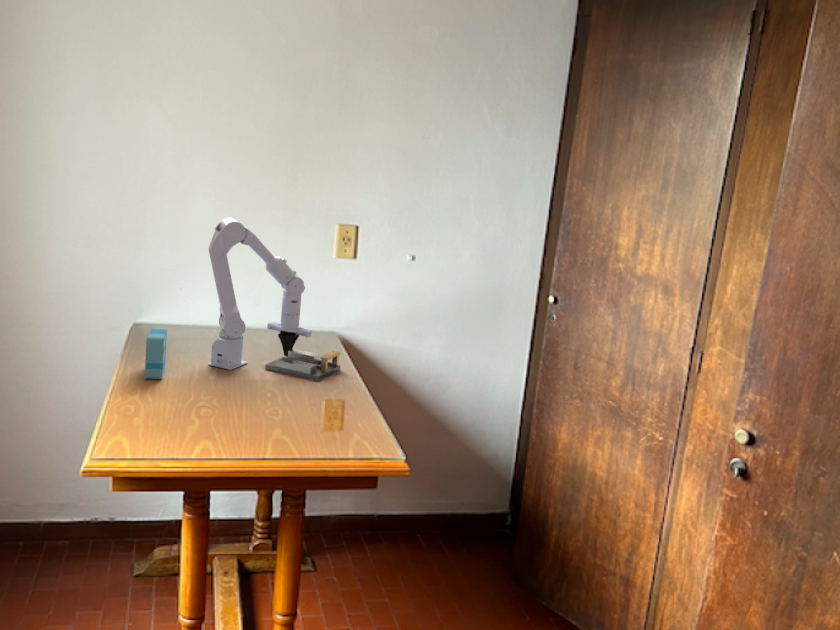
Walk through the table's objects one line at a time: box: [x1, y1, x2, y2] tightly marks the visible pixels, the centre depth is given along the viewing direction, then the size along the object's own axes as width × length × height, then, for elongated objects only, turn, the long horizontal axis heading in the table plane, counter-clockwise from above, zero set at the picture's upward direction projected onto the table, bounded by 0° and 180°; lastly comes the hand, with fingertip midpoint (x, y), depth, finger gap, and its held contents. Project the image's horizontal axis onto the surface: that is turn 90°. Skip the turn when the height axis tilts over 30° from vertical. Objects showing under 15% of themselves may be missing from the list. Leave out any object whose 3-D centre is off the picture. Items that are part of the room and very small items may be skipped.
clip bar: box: [288, 348, 320, 364], centre depth 243 cm, size 4×9×3 cm, turn 70°
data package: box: [144, 328, 168, 380], centre depth 219 cm, size 12×4×12 cm, turn 14°
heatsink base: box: [264, 350, 341, 382], centre depth 240 cm, size 15×18×6 cm
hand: (287, 355), depth 245 cm, fingers closed
